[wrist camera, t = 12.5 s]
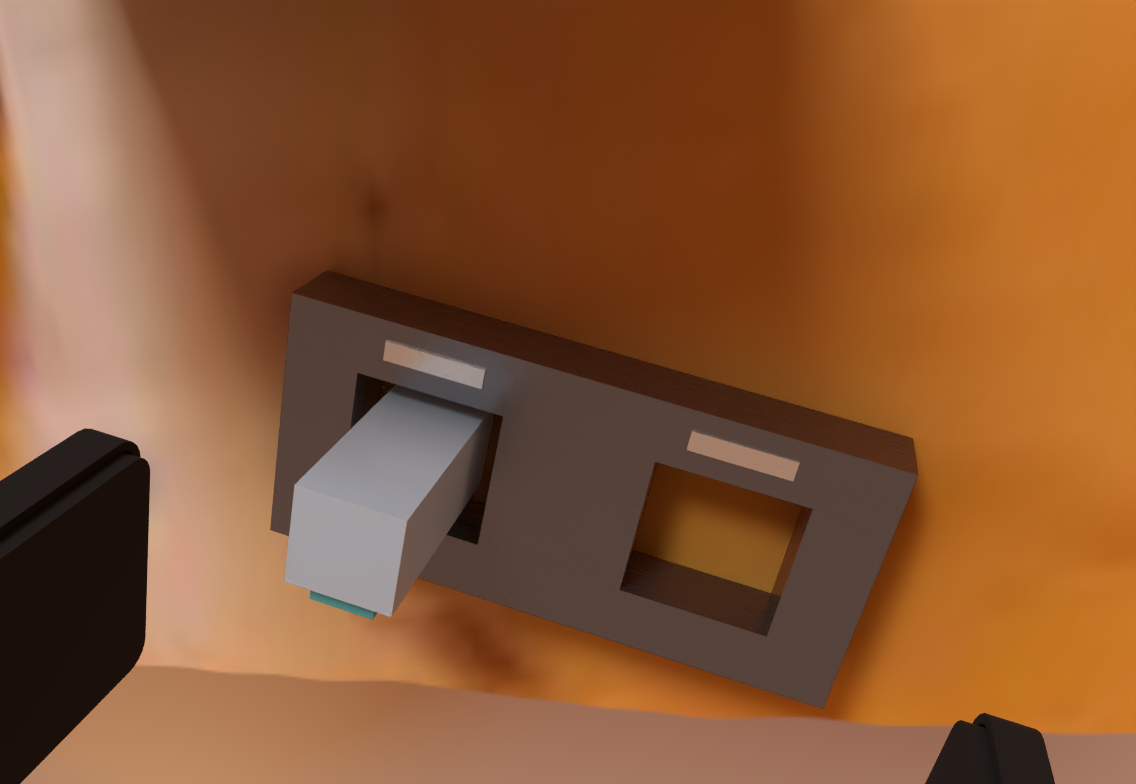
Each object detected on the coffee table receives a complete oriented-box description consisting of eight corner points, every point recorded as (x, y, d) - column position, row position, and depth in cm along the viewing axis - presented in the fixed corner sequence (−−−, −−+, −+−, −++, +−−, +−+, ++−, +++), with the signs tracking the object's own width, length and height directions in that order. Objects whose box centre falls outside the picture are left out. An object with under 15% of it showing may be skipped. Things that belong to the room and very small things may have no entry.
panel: (912, 438, 39) (918, 476, 36) (823, 662, 44) (822, 710, 41) (326, 270, 42) (290, 293, 39) (302, 496, 47) (269, 531, 44)
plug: (497, 400, 43) (407, 520, 34) (478, 497, 45) (388, 635, 36) (407, 373, 43) (294, 484, 34) (392, 470, 45) (282, 599, 36)
